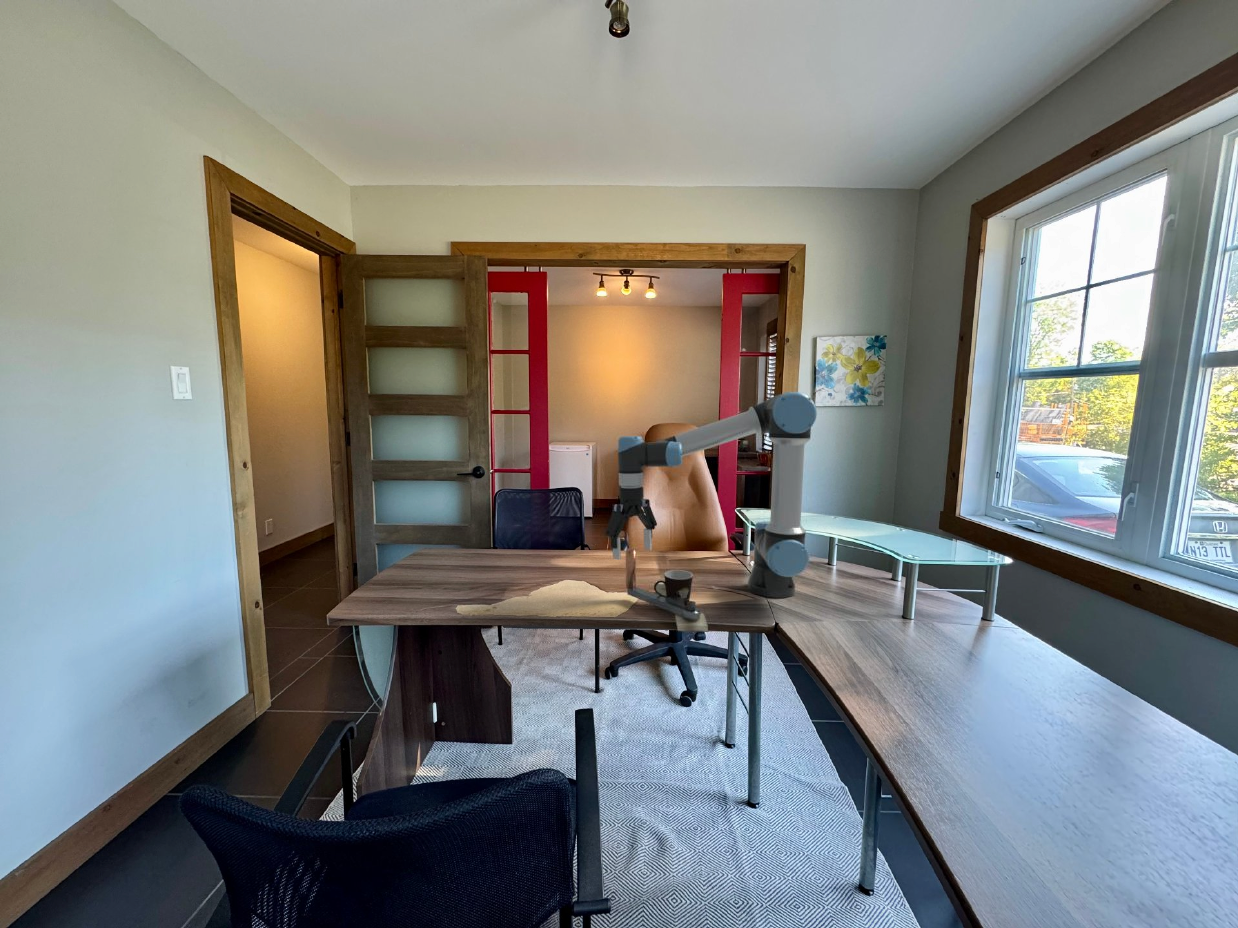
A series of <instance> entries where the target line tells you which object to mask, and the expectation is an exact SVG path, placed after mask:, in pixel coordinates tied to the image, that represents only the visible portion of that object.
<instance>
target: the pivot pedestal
mask: <svg viewBox="0 0 1238 928" xmlns="http://www.w3.org/2000/svg"><path fill="white" fill-rule="evenodd" d="M695 607H696V602H695V600H694V601H693V600H689V601H688V602H687V610H689V611H695ZM674 614H675V613H674ZM674 618H675V623H676V628H677V632H709V629H708V628H709V625H708V623H707V619H706V616H705V614H704V613H701V612H700V619H699V620H696V621H689V620H686V619H684V618H683V617H682V616H680V615H678V614H675V617H674Z"/></svg>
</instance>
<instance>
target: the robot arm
mask: <svg viewBox="0 0 1238 928" xmlns="http://www.w3.org/2000/svg"><path fill="white" fill-rule="evenodd" d="M817 414H818V412H817V406H816V405H815V402H814V401H813V399H811V397H809V396H808V395H807V394H804V393H802V392H798V391H788V392H784V393H780V394H776V395H774V396H772V397H770V398H768V399H767V400H764V401H762V402H759V403H757V404H755V405H752V406H750V407H749V408H748V410H747V411H744V412H741V413H738V414H735V415H732V416H729V417H725V418H723V419H720V420H716V421H714V422H711V423H708V424H706V425H702V426H698V427H696V428H693V429H690V430H686V431H684V432H680V433H678V434H675V435H673V436H669V437H667V438H661V439H659V440H656V441H655V442H654V441H653V442H646V441H644V440H643V437H642V436H640V435H630V436H627V435H625V436H620V437H619V439H618V440H617V441H618V442H617V443H618V444H617V445H618V446H617V461H618V464H617V465H618V485H619V486H620V487H619V488H618V489H619V490H618V493H619V494H618V495H619V496H618V498H619V499H620V504H616V503H613V504H612V512H611V514H610V518H609V521H608V524H607V527H606V530H605V533H604V534H605V536H606V537H609V538H610V547H611V549H612V558H613V559H616V560H621V558H622V557H621V553H622V552H621V537H619V536H620V534H621V532H622V530H623V528H624V526H625V524H626V523H627V521H628V520H629V519H630V518H632V517H634V516H635V517H637V518H638V519H639V520H640V522H641V524H643V527H644V528H643V549H645V550H648V551H652V549H653V548H652V538H653V530H655V529H656V527H657V526H658V522H657V520H656V518H655V515H654V513H653V510H652V507H651V501H650V499H649V498H648V499H647V498H644V497H645V496H644V487H643V485H644V467H645V468H651V467H652V468H653V467H658V468H660V467H664V468H666V467H670V468H673V467H680V466H682V464H683V457H686V456H689V455H693V454H695V453H698V452H702V451H704V450H707V449H711V448H714V447H717V446H720V445H722V444H726V443H729V442H732V441H735V440H738V439H741V438H744V437H748V436H751V435H754V434H757V435H759V436H761V435H764V434H767V433H768V439H769V440H770V441H771V443H772V444H773V451H772V452H773V455H772V457H773V458H772V472H771V473H772V474H771V475H772V476H771V477H772V478H771V497H770V498H771V501H770V521H757V522H756V523H755V524H754V525H755V528H754V531H753V532H754V550H753V551H754V553H753V554H754V556H753V567H752V569H751V571H750V574H749V577H748V581H747V589H748V590H749V591H750V592H752V593H753V594H756V595H759V596H762V597H768V598H775V599H777V598H779V599H780V598H781V599H783V598H789V597H792V596H794V595H796V583H795V580H794V577H796V576H798V575H800V574H801V573H803V571H805V570H806V569H807V567H808V565H809V562H810V561H809V560H810V553H809V551H808V548H807V546H806V533H807V532H806V531H807V530H806V529H805V528H804V527H803V526H802V524H801V521H802V520H801V519H802V502H803V501H802V500H803V483H804V482H803V481H804V480H803V479H804V464H805V463H804V462H805V461H804V460H805V445H806V443H808V442H809V441H810V440H811V435H812V434H811V433H812V432H811V431H812V427H813V425H814V424H815V422H816V420H817Z"/></svg>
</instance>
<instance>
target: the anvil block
mask: <svg viewBox="0 0 1238 928" xmlns="http://www.w3.org/2000/svg"><path fill="white" fill-rule="evenodd" d="M657 581H658V580H656V581H655V583H656V582H657ZM655 583H654V584H655ZM656 590H657V591H658V593H660V594H662V595H664V596H665V597H667V596H666V587H665V584H664V583H658V584H657V586H656ZM654 594H656V595H658V594H657V593H656V592H654ZM659 596H660V595H659Z"/></svg>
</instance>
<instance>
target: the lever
mask: <svg viewBox="0 0 1238 928" xmlns="http://www.w3.org/2000/svg"><path fill="white" fill-rule="evenodd" d="M636 580H637V549H636V548H626V549H625V588H626V589H627V590H626V591H627V594H626V595H628V596H631V597H633V598H636V599H638V600H640V601H643V602H646V603H649V604H651V605H652V606H656V607H658V608H660V609H663V610H665V611H668V612H671V613H674V614H678V615H680V616H682V617H683V618H684V619H686V620H689V621H696V620H699V619H700V613H701V609H700V608H698V607H696V606H695V611H689V610H687V606H686V605H684V598H681V597H678V596H674V595H670V596H666V597H667V598H664V597H662V596H659V595H656V594H655V592H650V591H648V590H646V589H642V588H640V587H638V586H636V585H637V581H636Z"/></svg>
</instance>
